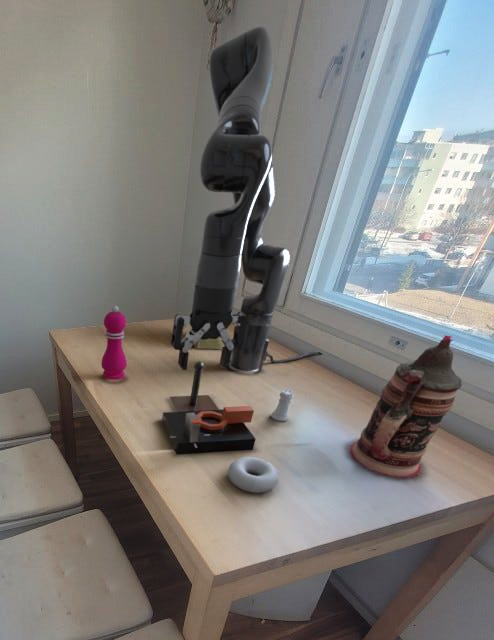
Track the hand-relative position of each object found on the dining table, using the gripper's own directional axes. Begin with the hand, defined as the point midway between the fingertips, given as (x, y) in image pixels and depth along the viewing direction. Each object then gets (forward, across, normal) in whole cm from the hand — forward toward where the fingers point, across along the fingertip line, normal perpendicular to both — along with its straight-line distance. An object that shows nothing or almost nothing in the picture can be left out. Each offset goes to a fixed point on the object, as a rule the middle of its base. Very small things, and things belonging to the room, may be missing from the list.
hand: (203, 367), depth 85 cm
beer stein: (+18, -39, +14) cm, 45 cm away
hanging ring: (+14, -8, -2) cm, 16 cm away
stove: (+17, -3, 0) cm, 18 cm away
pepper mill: (+18, +13, -35) cm, 41 cm away
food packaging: (+18, -24, -62) cm, 69 cm away
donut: (+18, -7, +17) cm, 26 cm away
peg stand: (+18, -5, -15) cm, 24 cm away
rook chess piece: (+18, -25, -6) cm, 31 cm away
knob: (+14, +2, +3) cm, 15 cm away
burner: (+14, -5, -2) cm, 15 cm away
